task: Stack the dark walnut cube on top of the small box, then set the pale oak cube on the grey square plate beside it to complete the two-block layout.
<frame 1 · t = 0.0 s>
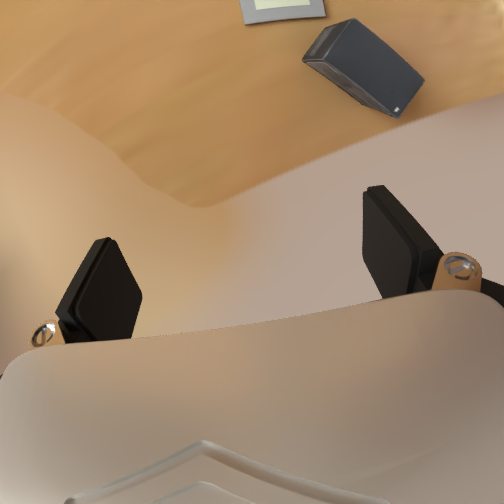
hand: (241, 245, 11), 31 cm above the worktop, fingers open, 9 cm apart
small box: (345, 65, 33), on the worktop
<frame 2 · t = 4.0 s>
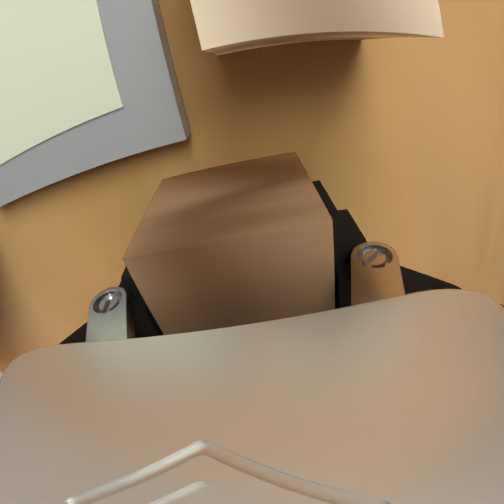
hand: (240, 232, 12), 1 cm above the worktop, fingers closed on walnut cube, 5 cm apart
walnut cube: (240, 222, 12), on the worktop, touching gripper
grey square plate: (39, 58, 8), on the worktop
when the fingers open (11 cm above the worktop, at t = 9.3 s): walnut cube stays where it is, resting on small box.
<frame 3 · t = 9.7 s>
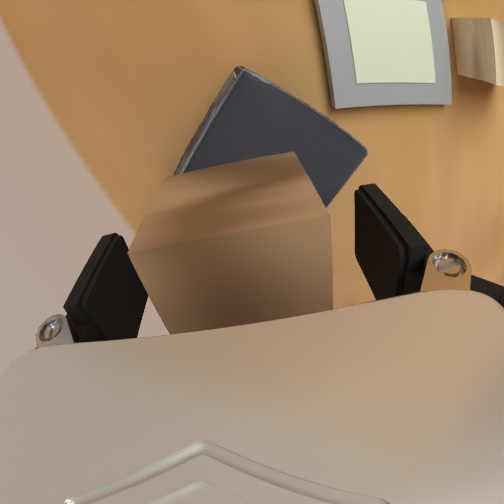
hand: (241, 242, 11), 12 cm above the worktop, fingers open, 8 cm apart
oak cube: (474, 49, 16), on the worktop
walnut cube: (241, 219, 13), point 10 cm above the worktop, touching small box
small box: (238, 146, 21), on the worktop, touching walnut cube
grey square plate: (387, 38, 16), on the worktop
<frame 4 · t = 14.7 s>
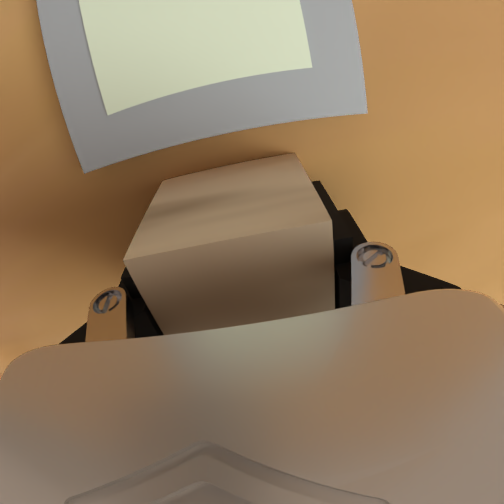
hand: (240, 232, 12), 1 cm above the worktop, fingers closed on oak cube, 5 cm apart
oak cube: (241, 223, 12), on the worktop, touching gripper
when the fingers open (2 cm above the worktop, at t = 19.9 s): oak cube stays where it is, resting on grey square plate.
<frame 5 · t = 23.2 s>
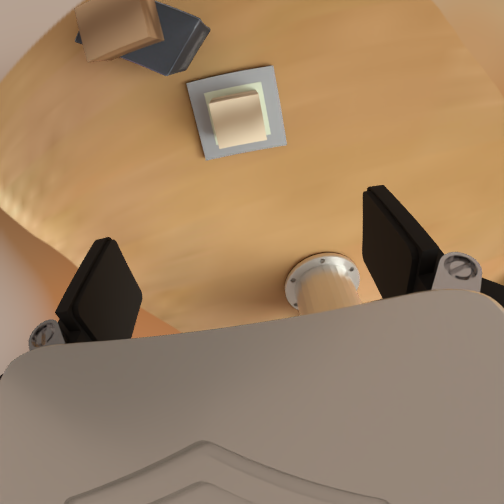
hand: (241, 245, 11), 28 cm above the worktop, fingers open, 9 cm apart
oak cube: (238, 113, 33), point 1 cm above the worktop, touching grey square plate
walnut cube: (131, 25, 19), point 10 cm above the worktop, touching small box
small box: (159, 34, 28), on the worktop, touching walnut cube
grey square plate: (237, 111, 34), on the worktop
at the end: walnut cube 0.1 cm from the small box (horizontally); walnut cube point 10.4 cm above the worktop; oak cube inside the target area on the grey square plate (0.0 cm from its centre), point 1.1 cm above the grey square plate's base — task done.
